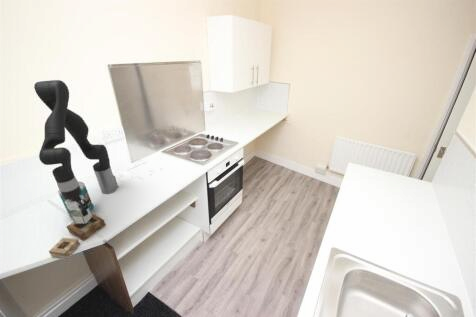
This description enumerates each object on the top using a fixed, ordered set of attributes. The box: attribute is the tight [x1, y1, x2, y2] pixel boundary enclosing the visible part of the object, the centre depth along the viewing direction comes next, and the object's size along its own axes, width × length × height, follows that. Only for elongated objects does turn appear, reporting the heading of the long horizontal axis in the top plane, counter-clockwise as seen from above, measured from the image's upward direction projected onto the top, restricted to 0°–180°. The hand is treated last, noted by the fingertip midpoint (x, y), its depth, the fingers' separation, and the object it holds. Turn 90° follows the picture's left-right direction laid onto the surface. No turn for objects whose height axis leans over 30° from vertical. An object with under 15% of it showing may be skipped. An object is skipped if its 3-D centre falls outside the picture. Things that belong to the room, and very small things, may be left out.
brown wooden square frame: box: [66, 212, 106, 242], centre depth 115 cm, size 12×12×4 cm
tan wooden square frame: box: [48, 237, 81, 259], centre depth 103 cm, size 8×8×4 cm
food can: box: [57, 181, 95, 220], centre depth 122 cm, size 12×12×18 cm
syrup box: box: [65, 195, 92, 225], centre depth 109 cm, size 6×6×14 cm
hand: (80, 212), depth 110 cm, fingers closed on syrup box, 7 cm apart
